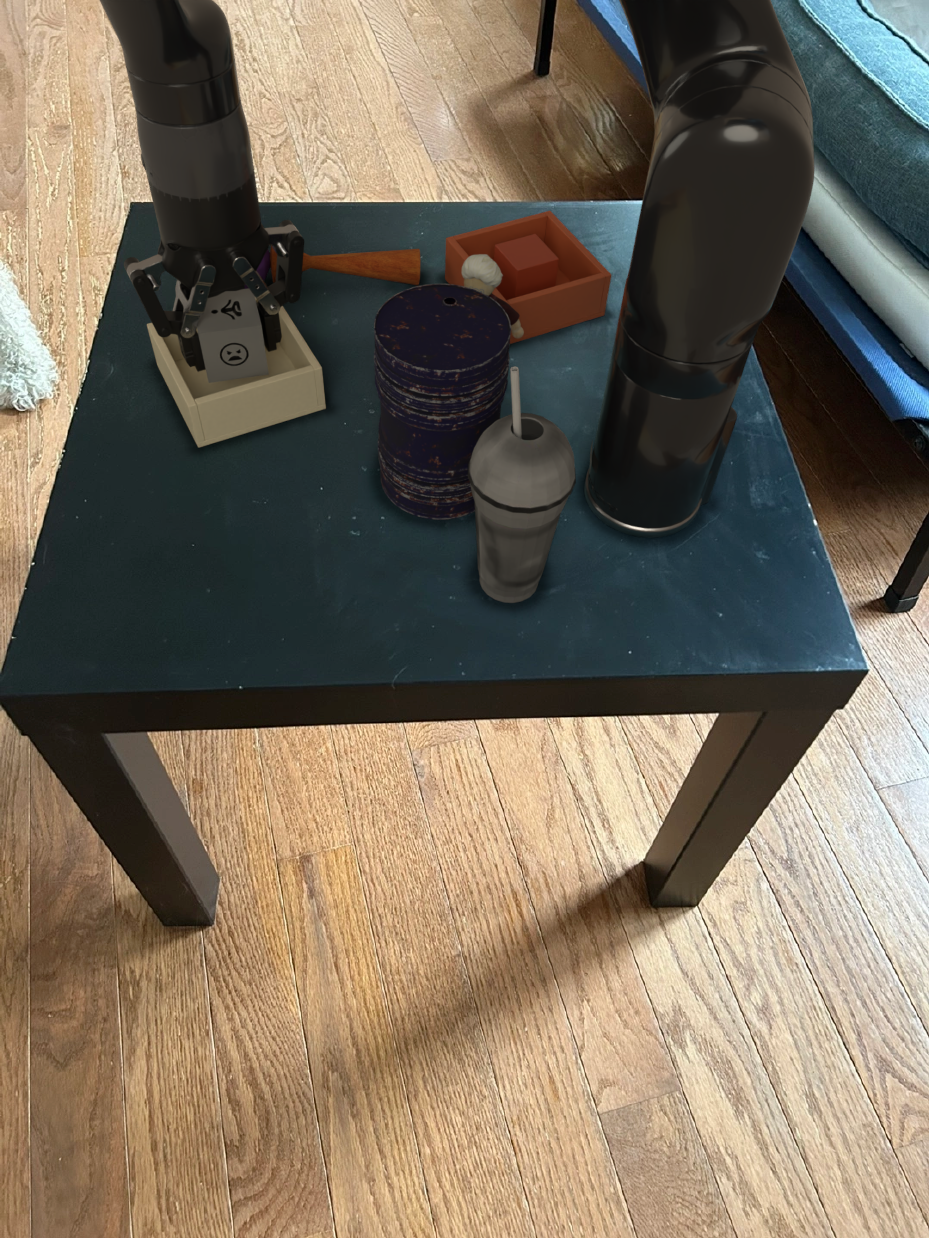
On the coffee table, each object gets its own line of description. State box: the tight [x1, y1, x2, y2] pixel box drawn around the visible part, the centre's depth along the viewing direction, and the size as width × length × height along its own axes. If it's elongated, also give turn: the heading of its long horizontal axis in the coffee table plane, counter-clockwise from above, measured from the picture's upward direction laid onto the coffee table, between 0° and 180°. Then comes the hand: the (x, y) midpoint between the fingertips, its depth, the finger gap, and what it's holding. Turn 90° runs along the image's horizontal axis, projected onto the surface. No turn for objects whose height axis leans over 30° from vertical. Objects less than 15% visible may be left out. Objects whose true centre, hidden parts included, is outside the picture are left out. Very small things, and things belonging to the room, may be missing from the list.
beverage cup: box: [468, 366, 577, 604], centre depth 68 cm, size 7×7×20 cm
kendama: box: [244, 245, 421, 289], centre depth 94 cm, size 6×6×20 cm
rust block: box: [494, 234, 559, 301], centre depth 94 cm, size 4×4×4 cm
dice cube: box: [197, 288, 269, 383], centre depth 83 cm, size 5×5×5 cm
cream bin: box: [146, 297, 327, 448], centre depth 86 cm, size 11×11×4 cm
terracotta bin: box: [444, 210, 613, 345], centre depth 95 cm, size 11×11×4 cm
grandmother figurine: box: [462, 254, 524, 339], centre depth 84 cm, size 8×4×13 cm, turn 91°
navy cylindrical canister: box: [373, 283, 511, 521], centre depth 76 cm, size 10×10×15 cm
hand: (234, 354), depth 84 cm, fingers closed on dice cube, 5 cm apart
